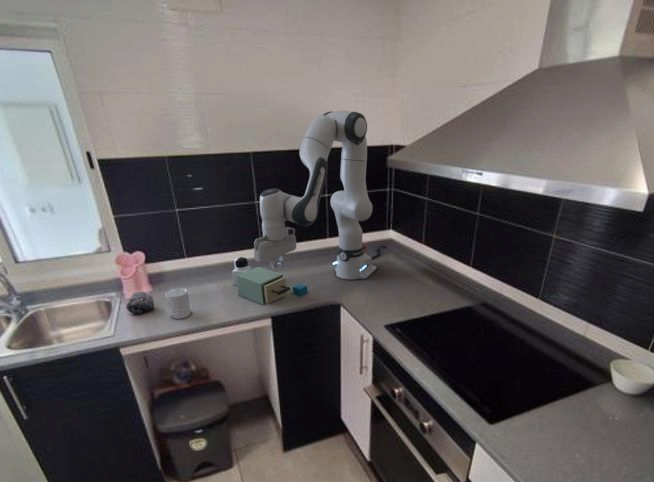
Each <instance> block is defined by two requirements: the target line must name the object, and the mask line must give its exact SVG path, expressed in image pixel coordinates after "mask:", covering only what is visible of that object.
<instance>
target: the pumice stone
mask: <svg viewBox="0 0 654 482" xmlns="http://www.w3.org/2000/svg"><path fill="white" fill-rule="evenodd" d="M155 305H156V304H155V301H154V298H153V297H152V296H151V295H150V294H149V293H146V292H145V291H136V292H133V293H132V295H131V296H130V298H129V300H128V302H127V303H126V306H125V307H126V310H127V311H128V312H129V313H131V314H133V315H142V314H144V313H146V312H149V311H152V310H154V309H155Z"/></svg>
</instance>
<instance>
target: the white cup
mask: <svg viewBox="0 0 654 482" xmlns="http://www.w3.org/2000/svg"><path fill="white" fill-rule="evenodd" d="M165 297H166V301H167V304H168V307H169V310H170V312H171V315H172V318H174V319H176V320H179V319H180V320H181V319H185V318H187V317H189V316H191V308H190V307H191V306H190V300H189V299H190V298H189V294H188V290H187V289H186V288H183V287H179V288H178V287H177V288H172V289H170V290H168V291H166V292H165Z"/></svg>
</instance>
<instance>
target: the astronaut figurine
mask: <svg viewBox="0 0 654 482" xmlns="http://www.w3.org/2000/svg"><path fill="white" fill-rule="evenodd" d="M233 264H234V268H233V270H232V271H231V274H232V281H233V286H238V283H237V277H236V275H238V274H240V273H243V272H246V271H248V270H251V269H253V268H252V266H251V265H249V263H248V258H247V257H243V256H239V257H236V258H234V259H233Z"/></svg>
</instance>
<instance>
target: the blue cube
mask: <svg viewBox="0 0 654 482" xmlns="http://www.w3.org/2000/svg"><path fill="white" fill-rule="evenodd" d="M292 294H293V295H295V296H298V297H303V296H305V295H307V294H308V286H307V285H305V284H303V283H297V284H296V285H294V286H292Z"/></svg>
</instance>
